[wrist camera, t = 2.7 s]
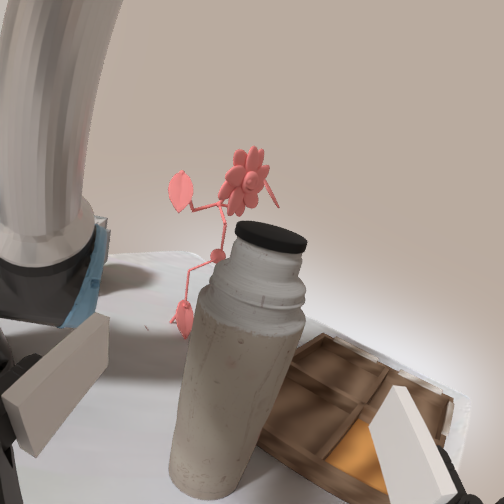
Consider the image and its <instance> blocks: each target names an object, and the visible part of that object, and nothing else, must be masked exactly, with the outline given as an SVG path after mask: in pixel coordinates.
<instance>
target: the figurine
mask: <svg viewBox="0 0 504 504" xmlns="http://www.w3.org/2000/svg"><path fill="white" fill-rule="evenodd" d="M263 160H264V150H263V149H260V150H259V151H258V150H257V148H256V147H255V146H252V147H251V148H250V151H249V153H248V155H247V154H246V152H245V151H244V150H241V149H238V150H236V151H235V153H234V157H233V165H234V167H232V168H231V169H230V170H229V171H228V172H227V173H226V175H225V179H226V181H225V182H224V184H223V185H222V187H221V189H220V191H219V194H218V198H219V200H220V201H218V202H217V203H214V204H210V205H206V206H202V207H198V208H195V209H194V207H193V204H192V200H191V198H192V196H193V185H192V182H191V179H190V177H189V176H187V175H186V174H185V172H184V171H183V170H181V171H180V172H179V173H177V174H175V175H174V177H173V178H172V179H171V181H170V183H169V187H168V192H169V198H170V200H171V202H172V204H173V206H174V208H175V209H176V211H177V212H178V213H179V212H181V211H182V210H183V209H184V208H185V207H186V206H187V205H188V204H190V208H191V210H192V212H196V211H199V210H203V209H207V208H210V207H213V206H217V207H219V210H220V213H221V217H222V220H223V224H224V227H223V234H222V242H221V249H215V250H213V251H212V253H211V255H210V257H211V260H210V261H208V262H206V263H203V264H201V265H198V266H196V267H194V268H191V269H189V271H188V274H187V283H186V292H185V301H184V300H182V301H180V302H179V303H178V306H177V309H176V314H175V315H174V317H173V318H172V319H171V320H170V323H172V322H173V321H174V320H175V319H176V322H177V327H178V329H179V331H181V332H180V333H182V334H183V335H182V336H183V337H184V339H186V338H187V337H188V335H189V333H190V331H191V329H192V325H193V320H194V317H193V311H192V308H191V305H190V303H189V302H188V301H187V293H188V284H189V275H190V271H192V270H194V269H197V268H199V267H201V266H204V265H206V264H209V263H211V262H214V263H216V264H217V263H218V262H219V261H221V260H224V259H225V258H226V255H225V253H224V251H223V244H224V239H225V233H226V227H227V225H226V224H227V223H226V220H225V217H224V214H223V211H222V208H221V207H222V206H223V207H227V214H228V216H232V215H233V214H234V213H235V214H236V215H237V216H239V217H240V216H241V215H242V214H243V212H244V210H245V205H246V207H248V208H255V207H256V206H257V204H258V195H257V193H259V192H260V191H261V190H262V189H263V187H264V185H265V187H266V189H267V191H268V193H269V195H270V196H271V198H272V200H273V202H274V203H275V205H276V206H277V207H278V208H279V205H278V203H277V201H276V198H275V196H274V194H273V192H272V190H271V188H270V186H269V185H268V183H267V181H266V180H265V178H266V177H267V175H268V173H269V169H270V167H269V165H264V166H262V163H263ZM228 198H229V201H228V205H226V204H222V203H223V201H224V200H225V199H228ZM145 327H146V326H145ZM147 330H148V329H147ZM148 331H149V330H148Z"/></svg>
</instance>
